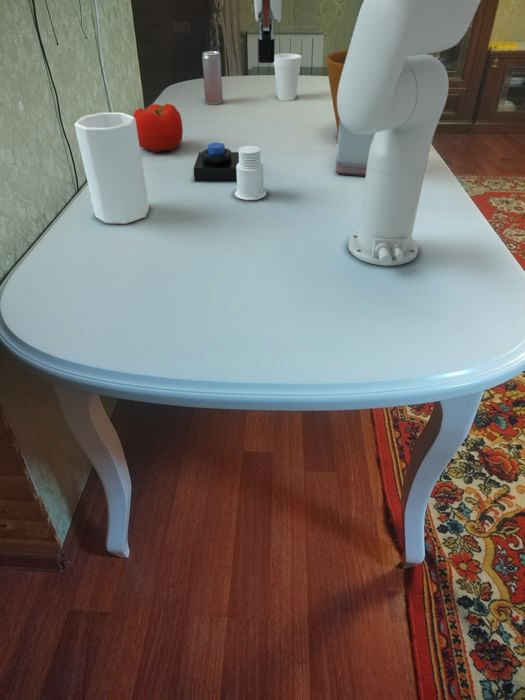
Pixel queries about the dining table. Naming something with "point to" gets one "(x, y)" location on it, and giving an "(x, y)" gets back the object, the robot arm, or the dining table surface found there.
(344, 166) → the bottle
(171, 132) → the tomato
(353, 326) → the dining table surface
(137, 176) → the cup
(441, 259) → the dining table surface
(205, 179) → the base
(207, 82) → the beverage can
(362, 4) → the robot arm
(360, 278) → the dining table surface
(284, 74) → the foam cup
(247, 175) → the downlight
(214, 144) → the button
